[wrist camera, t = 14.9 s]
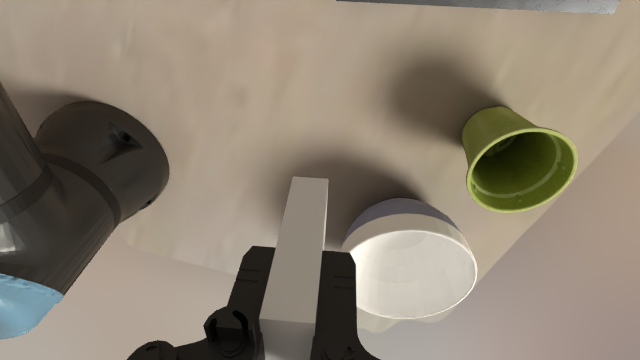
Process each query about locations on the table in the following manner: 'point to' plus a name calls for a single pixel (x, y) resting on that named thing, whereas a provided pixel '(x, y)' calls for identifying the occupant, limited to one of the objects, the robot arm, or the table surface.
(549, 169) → the plant pot
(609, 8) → the console
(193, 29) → the table surface
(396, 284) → the bowl
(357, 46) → the table surface
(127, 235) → the table surface
